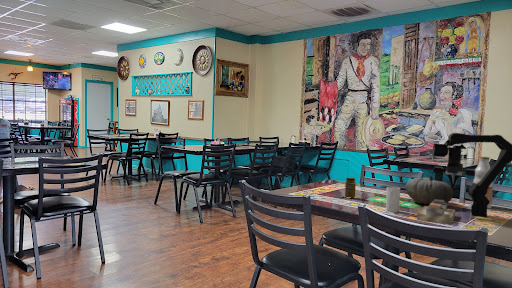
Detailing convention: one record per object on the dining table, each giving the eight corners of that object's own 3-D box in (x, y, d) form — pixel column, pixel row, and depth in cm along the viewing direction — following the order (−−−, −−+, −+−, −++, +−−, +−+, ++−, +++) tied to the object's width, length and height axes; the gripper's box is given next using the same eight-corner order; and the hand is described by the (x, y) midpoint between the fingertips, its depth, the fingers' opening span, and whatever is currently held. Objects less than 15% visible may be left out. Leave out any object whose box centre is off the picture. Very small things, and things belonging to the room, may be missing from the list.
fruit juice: (495, 208, 202) (498, 157, 201) (480, 208, 201) (483, 157, 199) (482, 204, 212) (485, 156, 210) (467, 205, 210) (470, 156, 209)
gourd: (401, 200, 206) (406, 169, 207) (405, 200, 228) (409, 172, 229) (451, 210, 194) (456, 178, 195) (450, 209, 216) (455, 180, 217)
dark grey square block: (444, 206, 183) (444, 200, 183) (443, 207, 180) (443, 201, 180) (434, 205, 186) (434, 199, 186) (433, 206, 182) (433, 200, 182)
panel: (455, 216, 182) (455, 204, 182) (450, 224, 166) (451, 211, 166) (424, 211, 190) (424, 200, 190) (417, 219, 174) (417, 206, 173)
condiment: (358, 197, 224) (358, 178, 223) (350, 199, 218) (351, 179, 217) (347, 196, 229) (348, 176, 229) (339, 197, 223) (340, 178, 223)
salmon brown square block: (440, 210, 173) (441, 204, 173) (439, 212, 170) (440, 205, 170) (430, 209, 176) (431, 202, 176) (429, 210, 172) (429, 204, 172)
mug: (387, 208, 196) (388, 186, 195) (400, 210, 192) (401, 187, 191) (382, 212, 187) (383, 188, 187) (395, 214, 184) (396, 190, 183)
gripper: (432, 157, 186) (430, 187, 186) (475, 159, 175) (473, 192, 176) (435, 156, 195) (433, 185, 196) (476, 158, 185) (474, 189, 185)
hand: (453, 187), depth 188 cm, fingers closed
